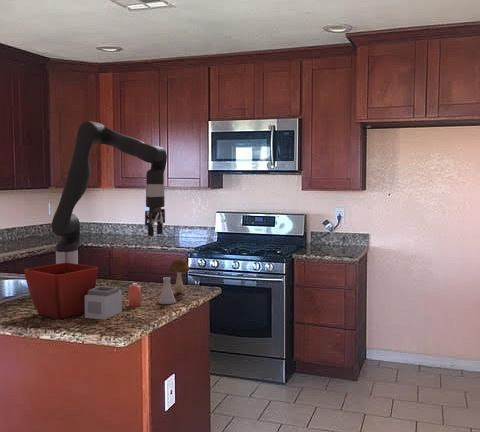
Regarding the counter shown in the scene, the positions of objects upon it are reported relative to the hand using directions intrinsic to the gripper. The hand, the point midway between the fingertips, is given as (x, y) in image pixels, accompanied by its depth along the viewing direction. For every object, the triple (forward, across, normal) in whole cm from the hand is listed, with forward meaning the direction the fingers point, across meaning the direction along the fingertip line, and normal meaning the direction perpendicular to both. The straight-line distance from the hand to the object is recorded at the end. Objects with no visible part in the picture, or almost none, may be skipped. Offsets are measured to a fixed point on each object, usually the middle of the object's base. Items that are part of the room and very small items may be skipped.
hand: (155, 235), depth 234 cm
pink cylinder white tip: (+26, +14, -2) cm, 30 cm away
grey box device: (+26, +31, -6) cm, 41 cm away
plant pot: (+26, +34, -22) cm, 48 cm away
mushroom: (+26, -13, +5) cm, 30 cm away
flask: (+26, +6, +8) cm, 28 cm away
